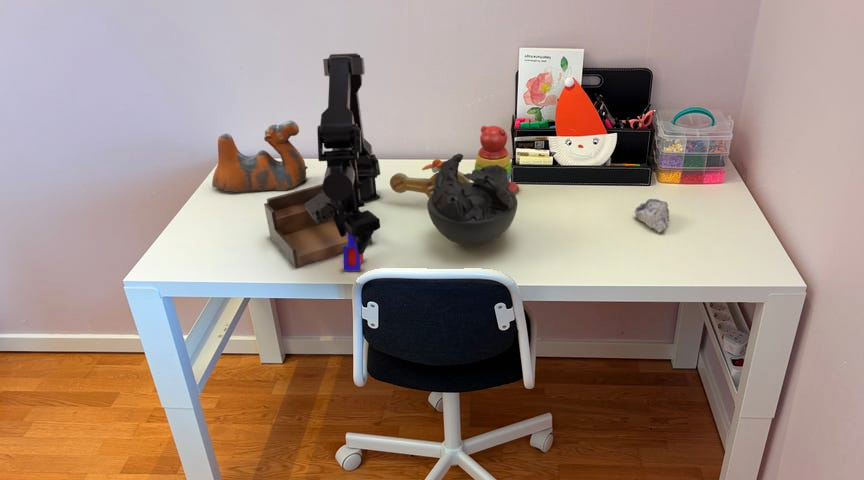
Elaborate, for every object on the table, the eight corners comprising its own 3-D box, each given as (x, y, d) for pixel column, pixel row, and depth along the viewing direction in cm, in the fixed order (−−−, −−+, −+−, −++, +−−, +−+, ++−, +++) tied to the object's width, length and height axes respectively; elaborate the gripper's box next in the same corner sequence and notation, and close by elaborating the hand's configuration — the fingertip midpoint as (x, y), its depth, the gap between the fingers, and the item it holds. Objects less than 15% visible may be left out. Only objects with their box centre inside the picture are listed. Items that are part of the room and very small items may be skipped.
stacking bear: (521, 189, 189) (523, 123, 179) (502, 204, 182) (502, 137, 172) (486, 180, 194) (485, 116, 184) (465, 195, 187) (463, 129, 177)
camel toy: (207, 194, 191) (193, 131, 182) (228, 172, 202) (215, 112, 193) (299, 197, 188) (288, 134, 179) (315, 176, 199) (306, 115, 190)
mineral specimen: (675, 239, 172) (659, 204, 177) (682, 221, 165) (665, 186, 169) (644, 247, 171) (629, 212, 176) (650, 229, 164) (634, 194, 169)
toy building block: (363, 269, 160) (362, 232, 160) (360, 270, 156) (359, 233, 156) (347, 269, 161) (346, 232, 160) (343, 270, 156) (342, 233, 156)
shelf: (343, 216, 178) (338, 179, 173) (372, 243, 167) (368, 204, 161) (270, 238, 170) (263, 199, 165) (295, 268, 159) (288, 227, 153)
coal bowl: (520, 262, 158) (521, 183, 148) (428, 264, 158) (423, 186, 148) (513, 218, 175) (514, 145, 165) (430, 221, 175) (426, 147, 165)
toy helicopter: (466, 220, 175) (464, 167, 168) (386, 210, 181) (381, 159, 173) (475, 205, 182) (474, 154, 174) (398, 196, 187) (394, 146, 180)
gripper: (289, 172, 152) (300, 237, 160) (325, 206, 138) (334, 275, 146) (338, 159, 156) (347, 223, 165) (377, 191, 143) (384, 259, 151)
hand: (351, 244), depth 157 cm, fingers open, 9 cm apart
